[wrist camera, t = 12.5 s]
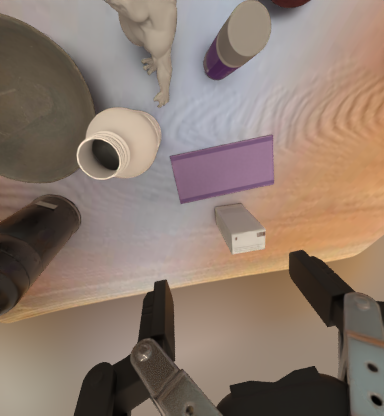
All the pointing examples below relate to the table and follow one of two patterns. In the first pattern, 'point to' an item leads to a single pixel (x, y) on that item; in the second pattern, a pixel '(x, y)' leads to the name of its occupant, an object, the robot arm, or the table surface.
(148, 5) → the figurine
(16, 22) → the bowl
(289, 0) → the decorative ball
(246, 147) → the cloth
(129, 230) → the table surface
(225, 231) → the cosmetic box
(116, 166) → the water bottle
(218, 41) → the container
